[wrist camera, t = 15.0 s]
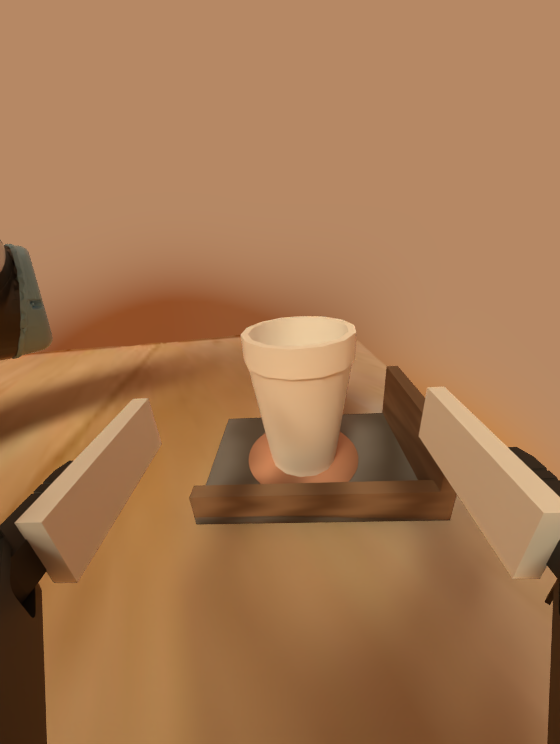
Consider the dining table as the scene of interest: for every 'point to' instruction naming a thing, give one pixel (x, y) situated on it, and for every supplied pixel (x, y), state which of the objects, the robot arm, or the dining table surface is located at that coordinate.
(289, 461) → the foam cup
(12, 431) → the dining table surface
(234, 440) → the wooden-edged grey tray
